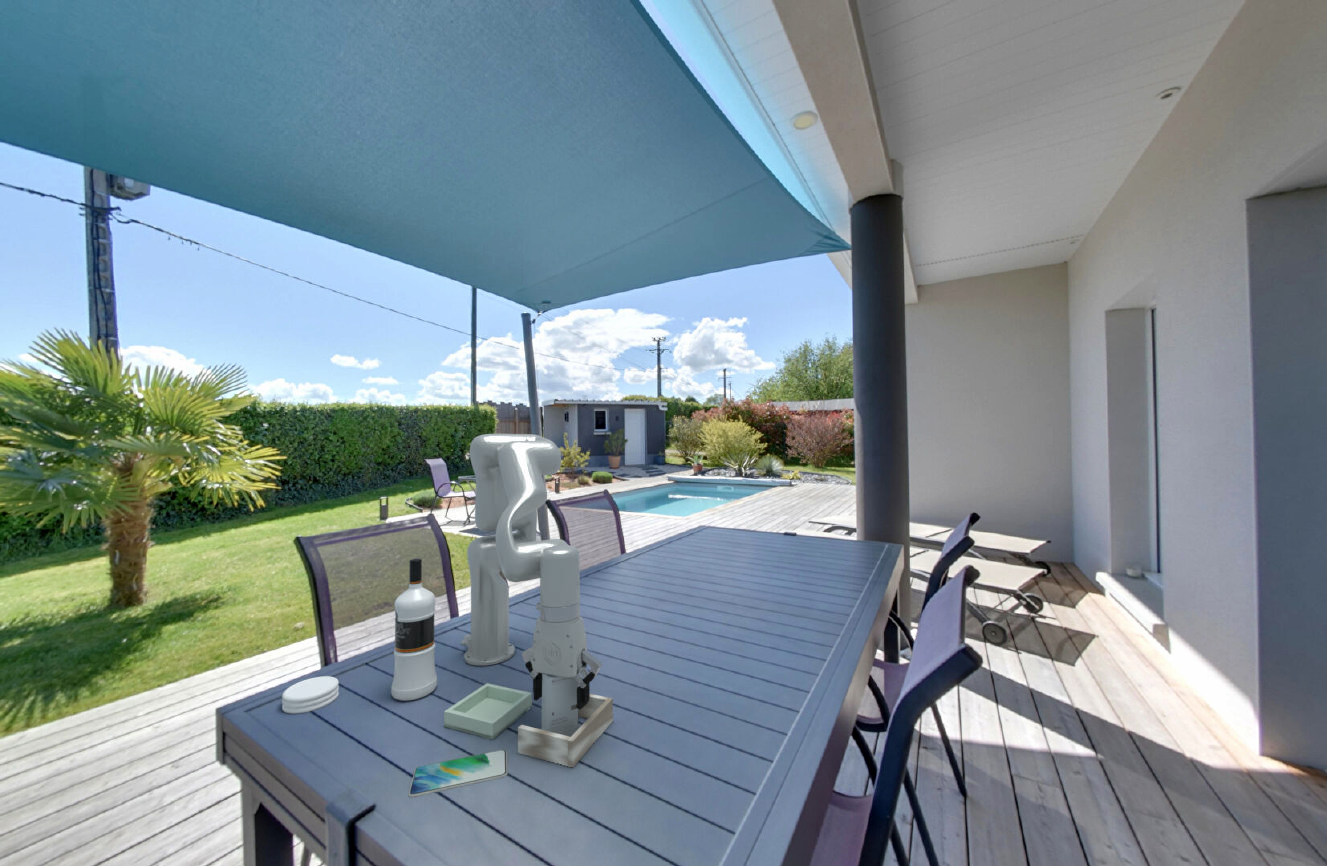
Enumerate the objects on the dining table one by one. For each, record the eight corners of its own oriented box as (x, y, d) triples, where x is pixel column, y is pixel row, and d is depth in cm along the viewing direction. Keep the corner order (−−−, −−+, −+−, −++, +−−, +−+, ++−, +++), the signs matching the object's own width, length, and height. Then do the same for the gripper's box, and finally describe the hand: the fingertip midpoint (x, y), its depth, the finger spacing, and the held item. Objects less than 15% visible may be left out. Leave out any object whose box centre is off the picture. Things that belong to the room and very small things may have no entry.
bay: (517, 752, 87) (517, 727, 87) (563, 710, 101) (563, 688, 101) (572, 768, 83) (572, 741, 83) (612, 721, 97) (612, 698, 97)
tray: (444, 726, 95) (444, 711, 95) (486, 697, 106) (486, 683, 106) (492, 739, 91) (492, 723, 91) (531, 707, 102) (531, 693, 102)
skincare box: (548, 746, 89) (548, 679, 89) (540, 734, 92) (540, 670, 93) (579, 735, 92) (579, 671, 92) (570, 723, 96) (570, 662, 96)
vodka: (437, 697, 106) (437, 561, 107) (389, 706, 103) (390, 565, 103) (437, 678, 115) (438, 552, 116) (393, 687, 111) (394, 556, 112)
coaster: (349, 694, 108) (349, 679, 108) (303, 718, 99) (303, 701, 99) (317, 687, 111) (318, 672, 111) (270, 710, 102) (270, 693, 102)
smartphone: (507, 774, 81) (407, 796, 76) (507, 779, 81) (407, 801, 76) (506, 748, 87) (415, 766, 83) (506, 752, 87) (415, 771, 83)
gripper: (511, 612, 92) (511, 703, 92) (589, 622, 86) (590, 720, 86) (534, 601, 99) (535, 685, 99) (609, 609, 93) (610, 699, 93)
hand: (560, 701), depth 92 cm, fingers open, 9 cm apart
